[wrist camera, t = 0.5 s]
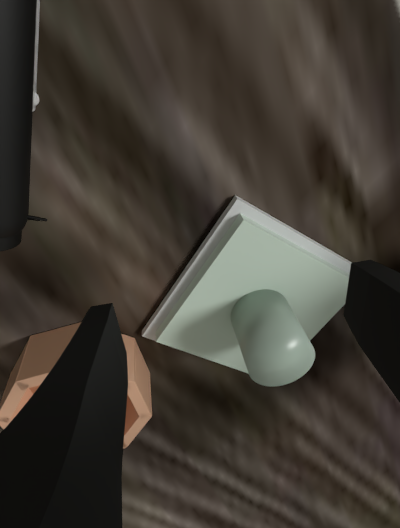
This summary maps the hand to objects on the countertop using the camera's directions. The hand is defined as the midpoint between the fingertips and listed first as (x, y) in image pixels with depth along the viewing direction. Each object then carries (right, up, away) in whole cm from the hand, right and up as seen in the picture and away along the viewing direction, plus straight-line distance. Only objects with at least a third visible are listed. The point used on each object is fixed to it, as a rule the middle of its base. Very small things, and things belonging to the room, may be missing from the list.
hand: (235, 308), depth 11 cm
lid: (+2, -1, +12) cm, 12 cm away
